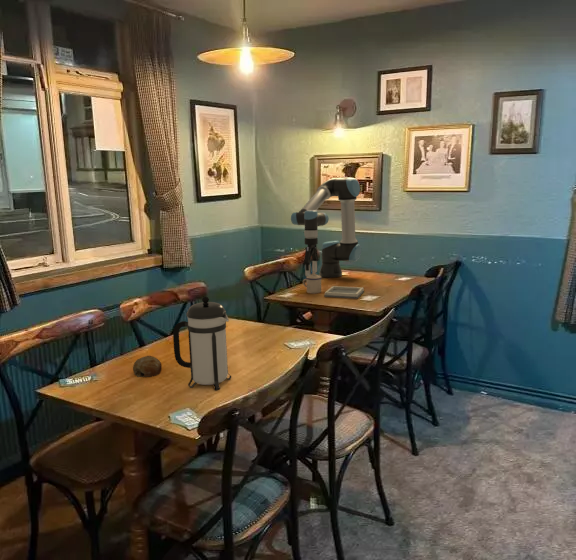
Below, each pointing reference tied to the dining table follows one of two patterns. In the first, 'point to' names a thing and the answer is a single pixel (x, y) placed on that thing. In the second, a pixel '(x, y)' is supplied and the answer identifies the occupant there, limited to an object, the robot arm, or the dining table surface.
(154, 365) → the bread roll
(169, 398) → the dining table surface
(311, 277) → the teacup with lid
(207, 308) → the coffee press
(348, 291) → the grey shallow tray
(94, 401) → the dining table surface
